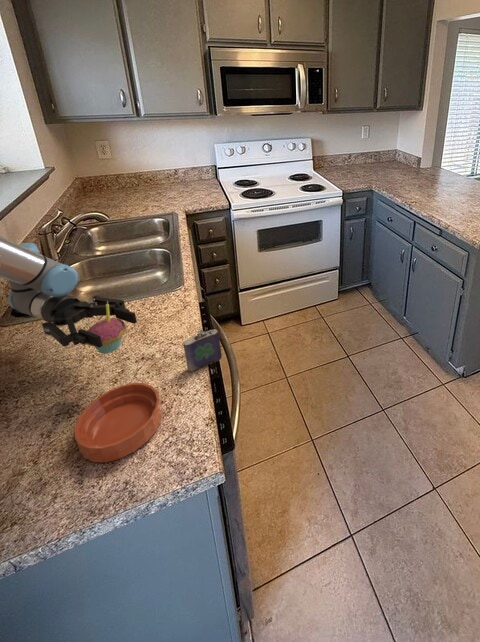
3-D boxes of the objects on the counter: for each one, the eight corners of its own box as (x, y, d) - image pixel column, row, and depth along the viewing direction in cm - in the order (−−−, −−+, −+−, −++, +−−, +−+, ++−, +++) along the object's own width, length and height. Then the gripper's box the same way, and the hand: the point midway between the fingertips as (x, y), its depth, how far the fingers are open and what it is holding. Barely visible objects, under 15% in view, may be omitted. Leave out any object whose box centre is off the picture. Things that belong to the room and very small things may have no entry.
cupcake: (115, 332, 93) (104, 292, 89) (137, 341, 89) (127, 300, 85) (81, 353, 86) (69, 311, 82) (104, 364, 82) (92, 321, 78)
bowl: (67, 474, 70) (61, 458, 68) (93, 406, 84) (89, 392, 83) (156, 451, 74) (152, 435, 72) (166, 390, 89) (163, 376, 87)
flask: (189, 374, 93) (183, 340, 90) (186, 367, 96) (180, 334, 92) (223, 358, 98) (218, 326, 95) (219, 352, 101) (215, 321, 97)
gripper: (99, 298, 103) (157, 317, 94) (14, 346, 84) (76, 374, 76) (93, 276, 100) (152, 292, 91) (4, 319, 82) (67, 345, 73)
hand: (117, 329), depth 84 cm, fingers closed on cupcake, 8 cm apart
